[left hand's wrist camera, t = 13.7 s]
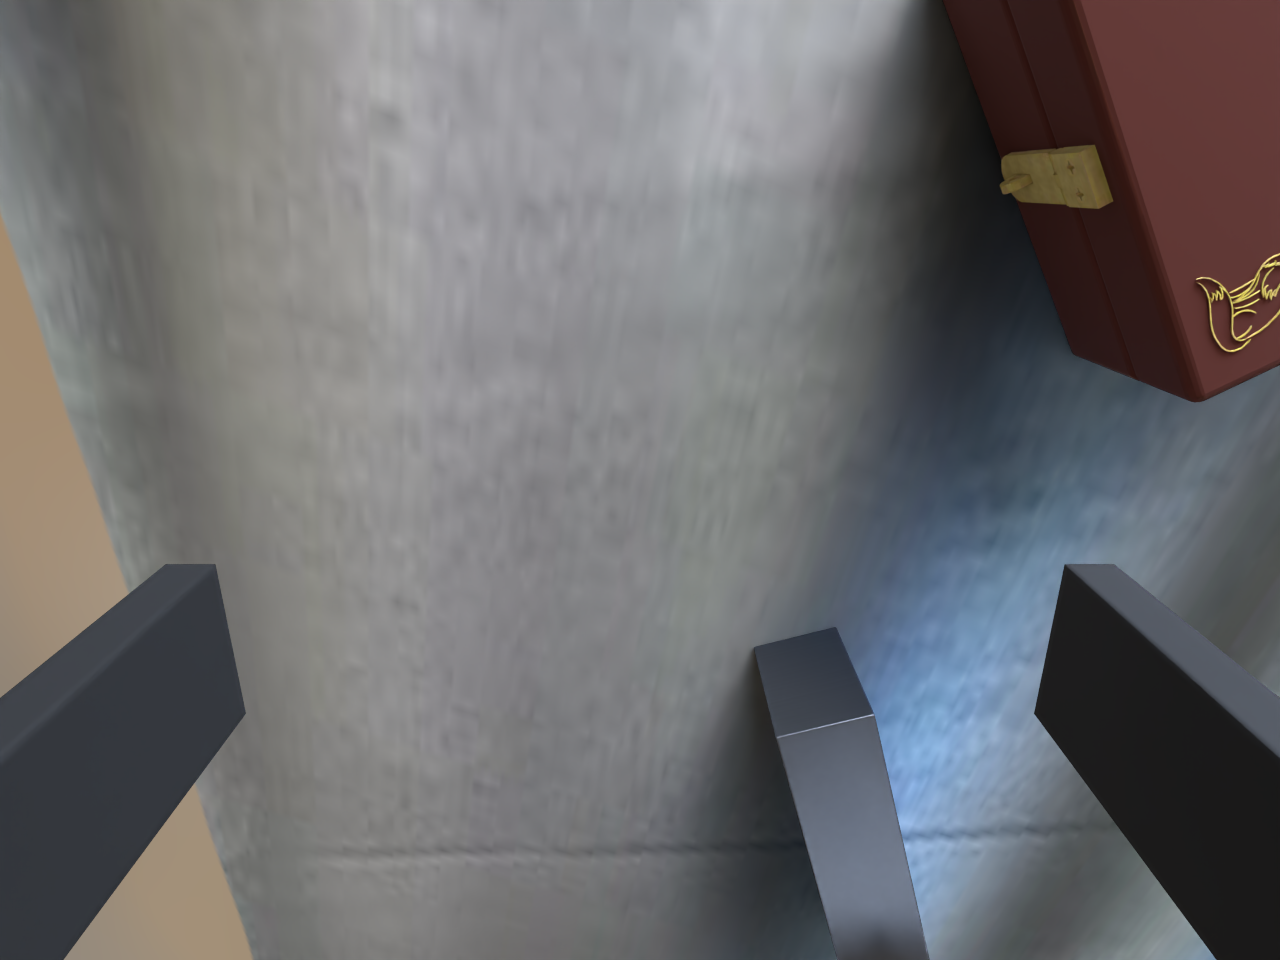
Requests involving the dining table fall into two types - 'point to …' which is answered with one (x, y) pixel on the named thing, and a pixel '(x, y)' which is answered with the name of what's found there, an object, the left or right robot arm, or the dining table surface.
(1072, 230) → the box
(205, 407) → the dining table surface
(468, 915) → the dining table surface
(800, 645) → the bar
